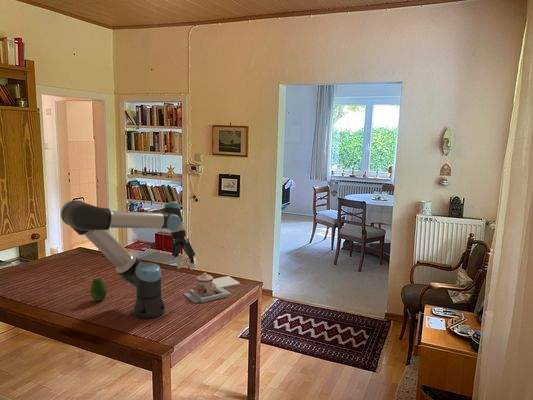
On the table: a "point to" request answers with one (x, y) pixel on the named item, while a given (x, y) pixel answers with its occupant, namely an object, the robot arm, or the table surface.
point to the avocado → (98, 289)
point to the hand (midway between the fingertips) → (186, 268)
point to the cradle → (197, 298)
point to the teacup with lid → (205, 285)
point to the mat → (225, 282)
